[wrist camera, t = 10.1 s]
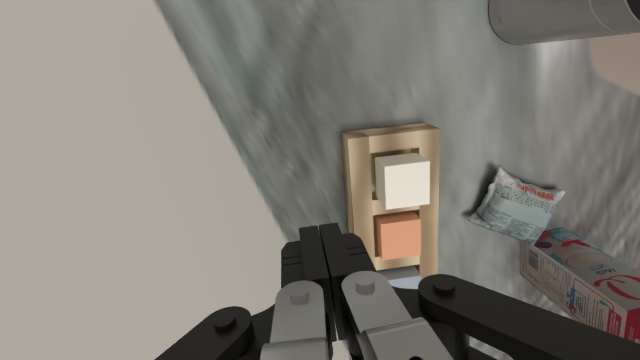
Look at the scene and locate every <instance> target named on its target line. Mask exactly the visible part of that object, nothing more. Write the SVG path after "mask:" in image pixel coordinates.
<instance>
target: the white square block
mask: <svg viewBox="0 0 640 360" xmlns="http://www.w3.org/2000/svg"><path fill="white" fill-rule="evenodd" d="M375 173H376V195H377V198H378V200H379V201H380V202H381V204H382V205H383V206H384V208H385V209H386V210H389V209H396V208H404V207H412V206H419V205H427V204H430V161H429V160H427V159H426V158H424V157H422V156H421V155H419V154H418V153H409V154H400V155H392V156H384V157H375Z"/></svg>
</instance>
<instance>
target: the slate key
mask: <svg viewBox="0 0 640 360" xmlns="http://www.w3.org/2000/svg"><path fill="white" fill-rule="evenodd" d="M377 273H379V274H381V275H383V276H384V277H385V278H386V279H387V280H388V282H389V283H390V285H391V286H394V287H398V288H406V289H418V284H419V282H420V281H421V275H420V273H419V272H418V270H417V269H416V267H415V266H414V265H411V266H404V267H397V268H390V269H383V270H377Z"/></svg>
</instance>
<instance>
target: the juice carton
mask: <svg viewBox="0 0 640 360" xmlns="http://www.w3.org/2000/svg"><path fill="white" fill-rule="evenodd" d="M520 274H521V275H522V276H523V277H524V278H526V279H527V280H528V281H529V282H530V283H531V284H533V285H534V286H535V287H536V288H537V289H539V290H540V291H541V292H542V293H543V294H544V295H546V296H547V297H548V298H549V299H550V300H551V301H553V302H554V303H555V304H556V305H557V306H558V307H560V308H561V309H562V310H563V311H564V312H566V313H567V314H568V315H569V316H570V317H571V318H573V319H574V320H575V321H578V322H580V323H583V324H586V325H589V326H591V327H594V328H597V329H600V330H602V331H605V332H608V333H611V334H613V335H616V336H619V337H622V338H624V339H627V340H630V341H633V342H635V343H638V344H640V271H638V270H637V269H635V268H633V267H631V266H629V265H628V264H626V263H624V262H622V261H621V260H619V259H617V258H615V257H613V256H612V255H610V254H608V253H606V252H605V251H603V250H601V249H599V248H597V247H596V246H594V245H592V244H590V243H589V242H587V241H585V240H583V239H581V238H580V237H578V236H576V235H574V234H573V233H571V232H569V231H567V230H565V229H564V228H559V229H554V230H550V231H545V232H543V233H542V234H541V235H540V237H539V238H538V240H537V241H536V243H535V244H534V245H528V244H527V243H525V242H524V241H522V240H521V241H520Z"/></svg>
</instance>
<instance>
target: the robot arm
mask: <svg viewBox="0 0 640 360" xmlns="http://www.w3.org/2000/svg"><path fill="white" fill-rule="evenodd" d="M489 18H490V22H491V25H492V27H493V29H494V31H495V33H496V34H497V35H498V36H499V37H500V38H501V39H502V40H504V41H505V42H508V43H510V44H516V45H522V44H533V43H544V42H554V41H564V40H573V39H583V38H592V37H602V36H611V35H621V34H630V33H638V32H640V0H490V2H489ZM319 233H320V235H319ZM299 234H300V241H295V242H288V243H286V245H285V246H284V247H283V249H282V251H281V265H282V267H281V290H280V291H279V292H278V294H277V296H276V302H275V304H274V305H273V306H271V307H270V308H269V309H267V310H265V311H263V312H260V313H258V314H255V315H253V316H251V315H250V312H249V311H248V310H246V309H245V308H242V307H235V306H234V307H233V306H232V307H227V308H223V309H220V310H218V311H215V312H214V313H212V314H210V315H209V316H208V317H207V318H205V319H204V320H203V321H202V322H200V323H199V324H198V325H197V326H195V327H194V328H193V329H192V330H191V331H189V332H188V333H187V334H186V335H184V336H183V337H182V338H181V339H179V340H178V341H177V342H176V343H175V344H173V345H172V346H171V347H170V348H168V349H167V350H166V351H165V352H164V353H162V354H161V355H160V356H159V357H157V358H156V359H155V360H332V356H333V347H332V342H334V341H337V338H336V330H335V324H336V329H337V334H338V339H339V340H345V339H346V340H347V344H348V351H349V360H497V359H495V358H493V357H491V356H489V355H487V354H485V353H483V352H481V351H479V350H477V349H475V348H473V347H471V346H469V336H471V337H473V338H475V339H477V340H480V341H482V342H484V343H486V344H488V345H490V346H492V347H494V348H496V349H499V350H501V351H503V352H505V353H507V354H508V355H509V356H511V357H512V358H513V359H514V360H640V344H638V343H635V342H633V341H630V340H627V339H624V338H622V337H619V336H616V335H613V334H611V333H608V332H605V331H602V330H600V329H597V328H594V327H591V326H589V325H586V324H583V323H580V322H578V321H575V320H572V319H569V318H567V317H564V316H561V315H558V314H556V313H553V312H550V311H548V310H545V309H542V308H539V307H537V306H534V305H531V304H528V303H526V302H523V301H520V300H517V299H515V298H512V297H509V296H506V295H504V294H501V293H498V292H495V291H493V290H490V289H487V288H484V287H482V286H479V285H476V284H474V283H471V282H468V281H465V280H463V279H460V278H457V277H454V276H451V275H445V274H434V275H430V276H427V277H425V278H423V279H422V280H421V281H420V282H419V284H418V289H406V288H398V287H394V286H391V285H390V283H389V282H388V280H387V279H386V278H385V277H384V276H383V275H381V274H379V273H377V271H376V269H375V267H374V265H373V262H372V260H371V258H370V256H369V254H368V253H367V250H366V248H365V246H364V243H363V241H362V239H361V238H360V237H358V236H357V235H355V234H354V233H348V234H341V231H340V228H339V226H338V223H330V224H323V225H319V230H318V226H310V227H303V228H299ZM334 320H335V321H334Z"/></svg>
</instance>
